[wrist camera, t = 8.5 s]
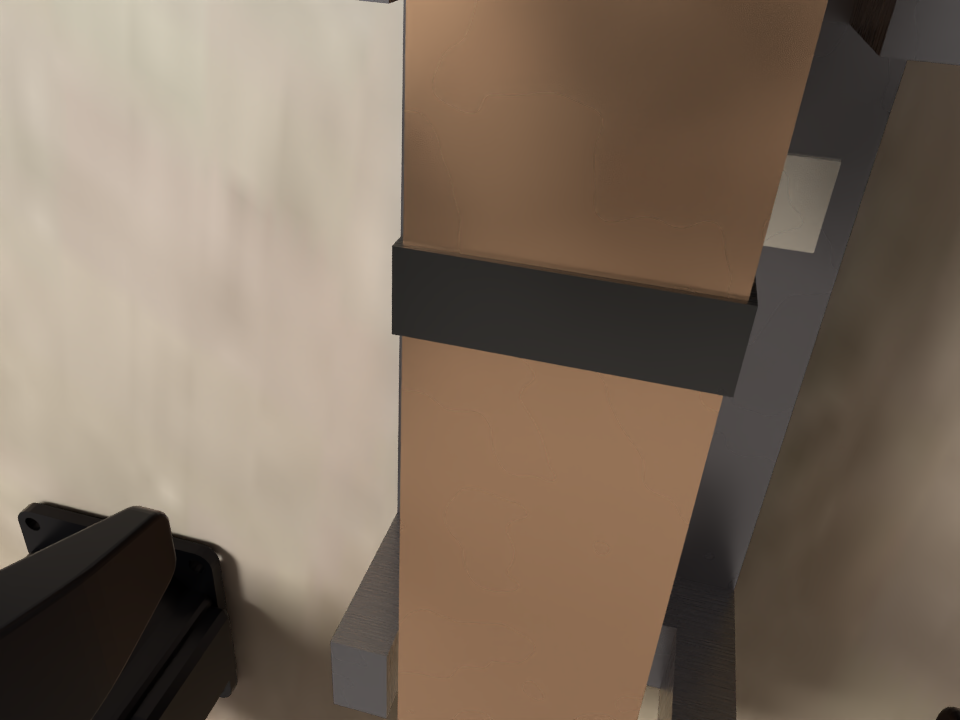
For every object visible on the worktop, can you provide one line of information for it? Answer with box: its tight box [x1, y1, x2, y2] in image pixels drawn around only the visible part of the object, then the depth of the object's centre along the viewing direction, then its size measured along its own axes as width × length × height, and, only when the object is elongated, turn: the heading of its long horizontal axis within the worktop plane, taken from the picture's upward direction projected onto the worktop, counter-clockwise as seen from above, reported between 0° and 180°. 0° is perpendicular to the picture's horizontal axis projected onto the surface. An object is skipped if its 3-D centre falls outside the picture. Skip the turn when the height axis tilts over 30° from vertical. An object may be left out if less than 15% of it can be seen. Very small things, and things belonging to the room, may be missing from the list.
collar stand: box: [331, 0, 960, 720], centre depth 14 cm, size 8×18×5 cm, turn 176°
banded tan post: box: [392, 0, 828, 720], centre depth 13 cm, size 4×18×4 cm, turn 176°
